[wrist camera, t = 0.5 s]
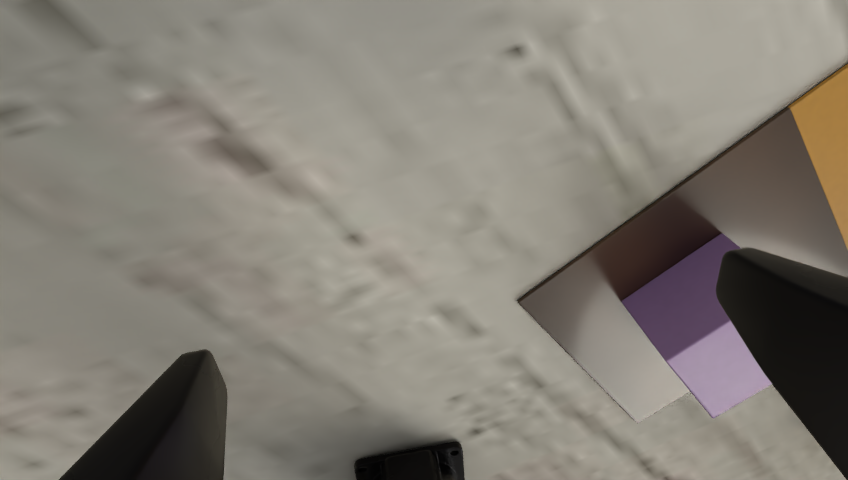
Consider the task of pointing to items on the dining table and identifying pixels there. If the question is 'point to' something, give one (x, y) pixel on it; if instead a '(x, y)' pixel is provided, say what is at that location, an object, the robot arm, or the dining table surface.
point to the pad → (828, 139)
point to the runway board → (675, 240)
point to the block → (698, 330)
